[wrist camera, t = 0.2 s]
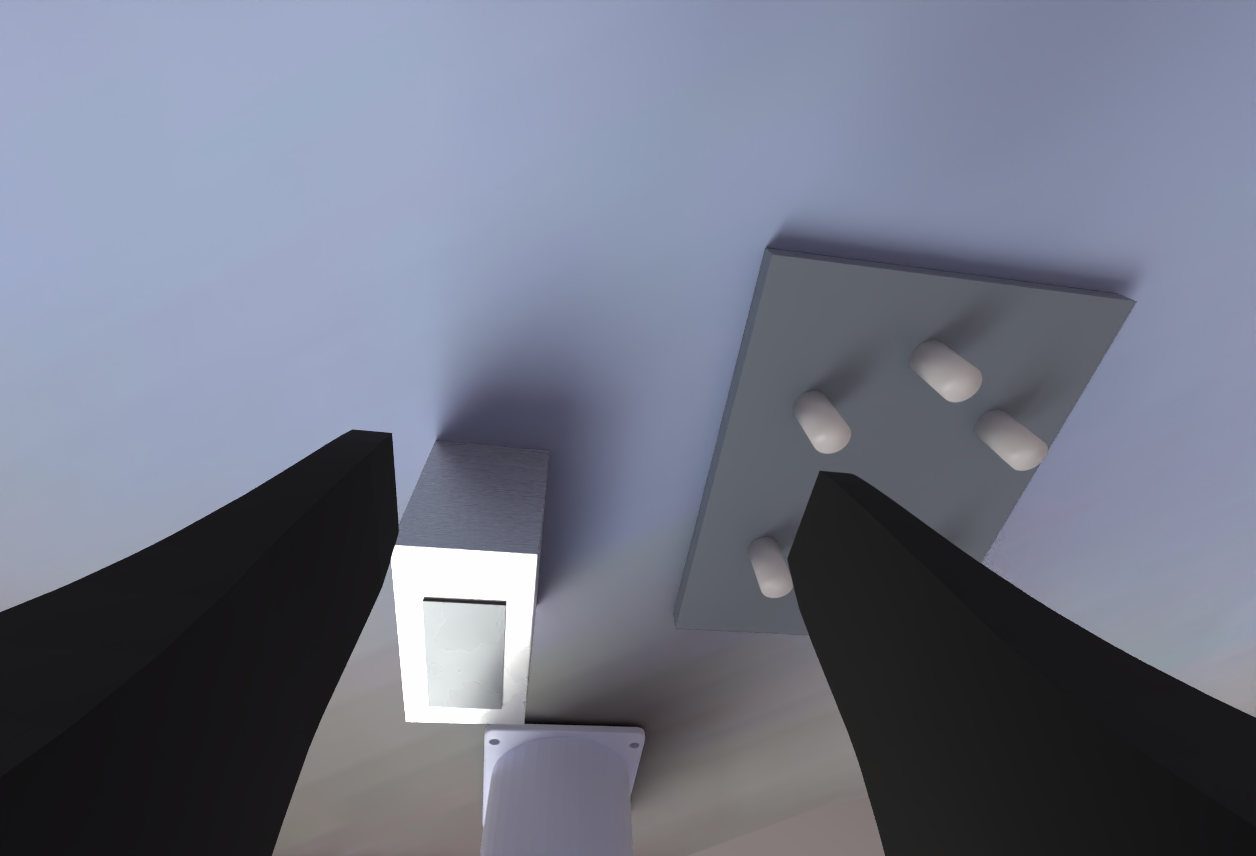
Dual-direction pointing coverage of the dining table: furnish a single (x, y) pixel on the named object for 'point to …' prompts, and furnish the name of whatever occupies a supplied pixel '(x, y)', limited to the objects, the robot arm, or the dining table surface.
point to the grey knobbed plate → (881, 413)
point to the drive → (470, 583)
